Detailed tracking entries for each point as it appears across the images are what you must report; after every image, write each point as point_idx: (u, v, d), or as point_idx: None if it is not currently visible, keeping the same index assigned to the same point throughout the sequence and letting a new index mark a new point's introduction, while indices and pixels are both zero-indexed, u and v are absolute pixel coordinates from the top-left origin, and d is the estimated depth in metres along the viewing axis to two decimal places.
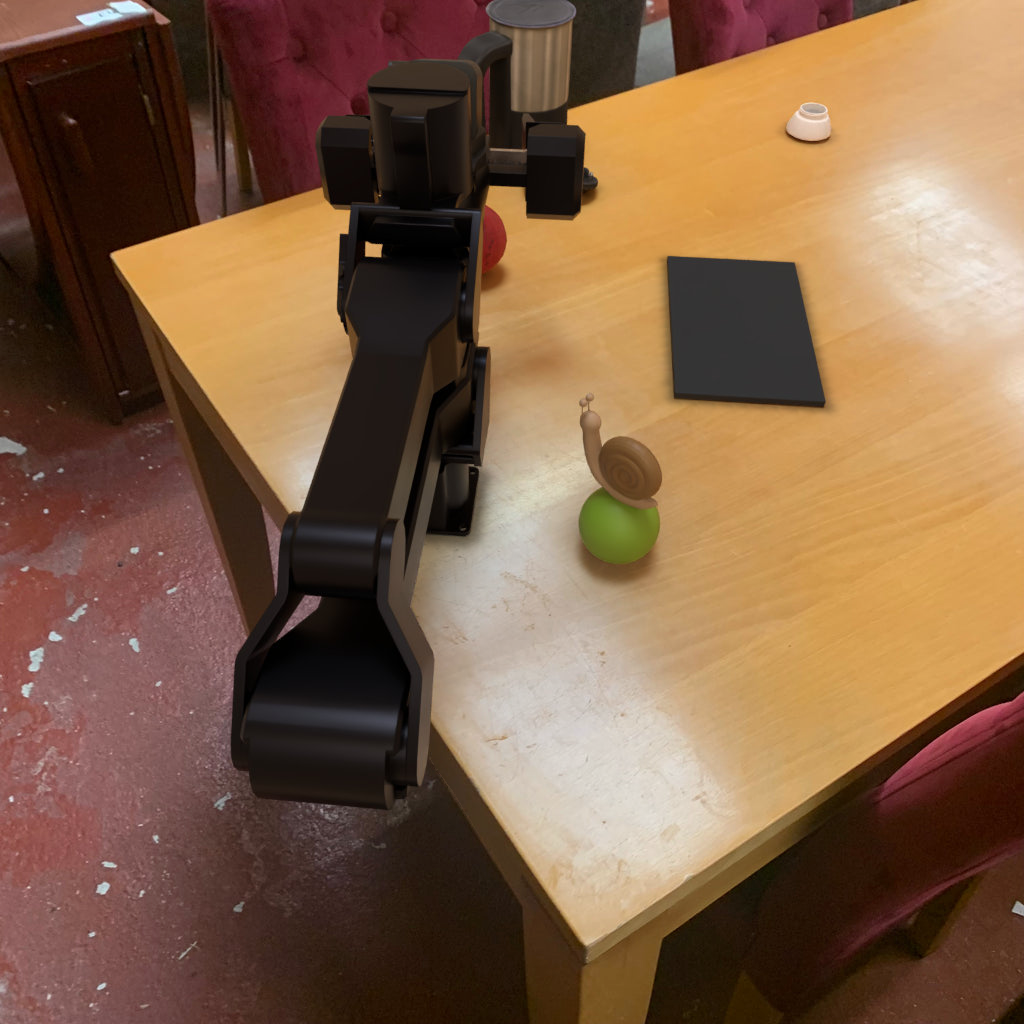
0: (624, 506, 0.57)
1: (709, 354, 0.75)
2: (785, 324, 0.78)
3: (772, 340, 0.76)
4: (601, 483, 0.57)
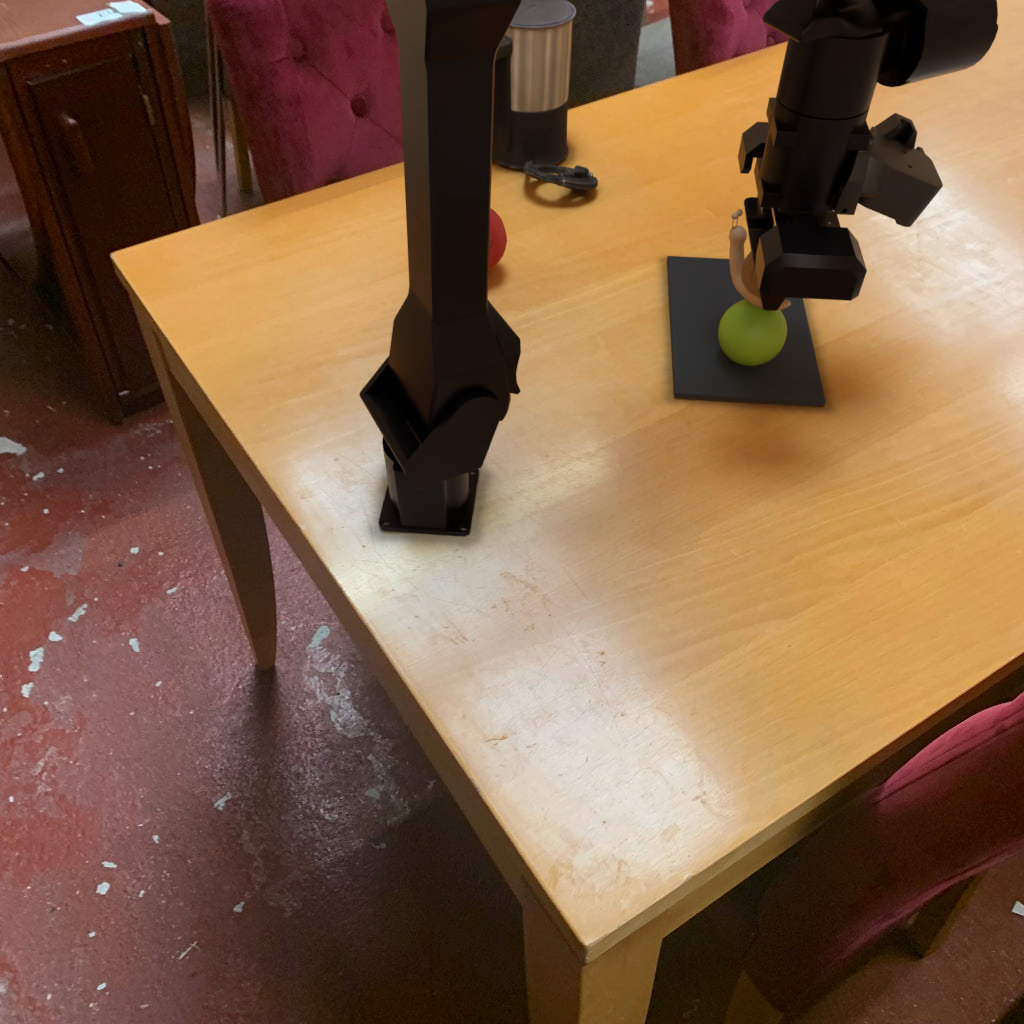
0: (761, 310, 0.70)
1: (709, 354, 0.75)
2: None
3: None
4: (742, 291, 0.70)
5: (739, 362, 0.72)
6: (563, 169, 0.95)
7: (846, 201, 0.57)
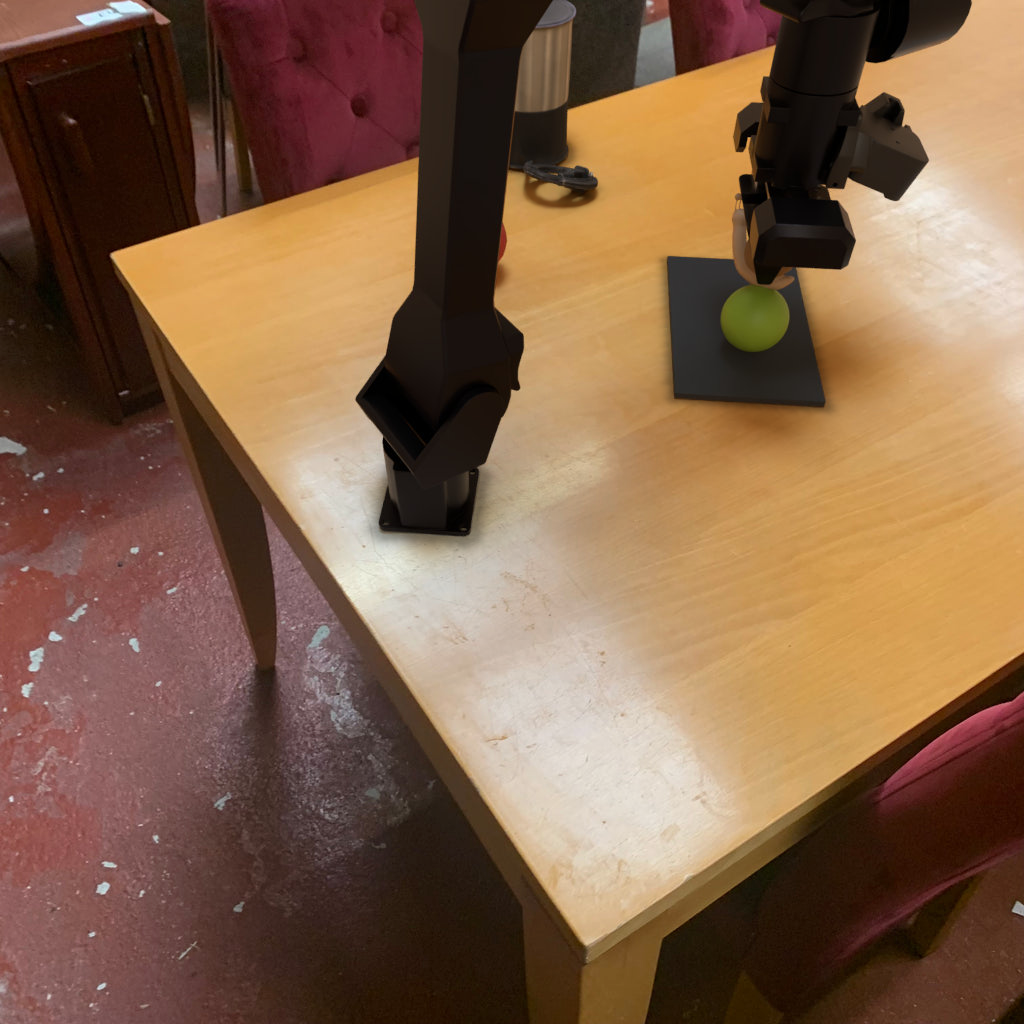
0: (765, 288, 0.71)
1: (709, 354, 0.75)
2: None
3: None
4: (745, 272, 0.72)
5: (743, 342, 0.72)
6: (563, 169, 0.95)
7: (836, 175, 0.60)
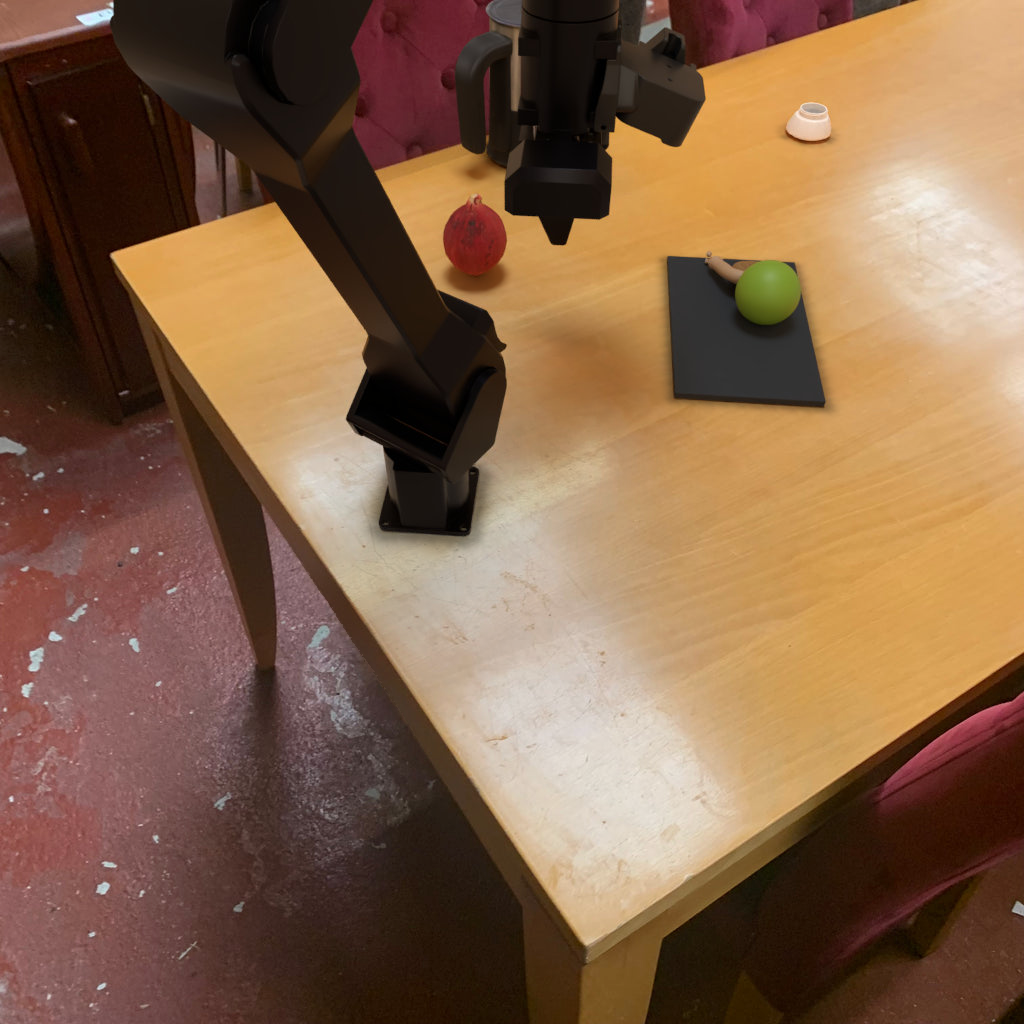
0: None
1: (709, 354, 0.75)
2: (785, 324, 0.78)
3: (772, 340, 0.76)
4: None
5: (784, 275, 0.74)
6: None
7: (603, 117, 0.54)
